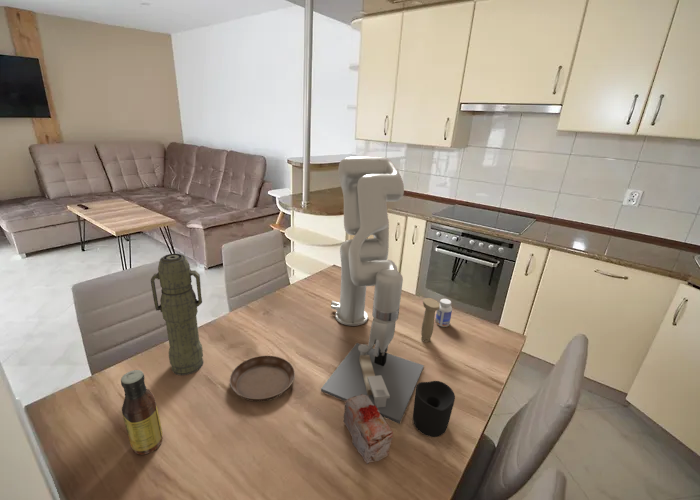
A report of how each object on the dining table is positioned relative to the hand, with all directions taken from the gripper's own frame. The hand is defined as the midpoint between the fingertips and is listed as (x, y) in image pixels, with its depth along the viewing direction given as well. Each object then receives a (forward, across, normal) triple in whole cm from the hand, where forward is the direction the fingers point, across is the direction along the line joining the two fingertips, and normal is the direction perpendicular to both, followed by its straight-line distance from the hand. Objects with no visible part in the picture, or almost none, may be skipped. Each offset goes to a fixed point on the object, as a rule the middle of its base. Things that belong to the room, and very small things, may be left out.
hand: (380, 363), depth 105 cm
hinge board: (+2, +5, +1) cm, 5 cm away
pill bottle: (+2, -36, +12) cm, 38 cm away
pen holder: (+2, +13, +19) cm, 23 cm away
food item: (+2, +26, +6) cm, 26 cm away
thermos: (+2, +28, -50) cm, 58 cm away
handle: (+2, -22, +9) cm, 24 cm away
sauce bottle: (+2, +51, -36) cm, 62 cm away
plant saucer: (+3, +22, -27) cm, 35 cm away
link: (+1, +6, -1) cm, 7 cm away
